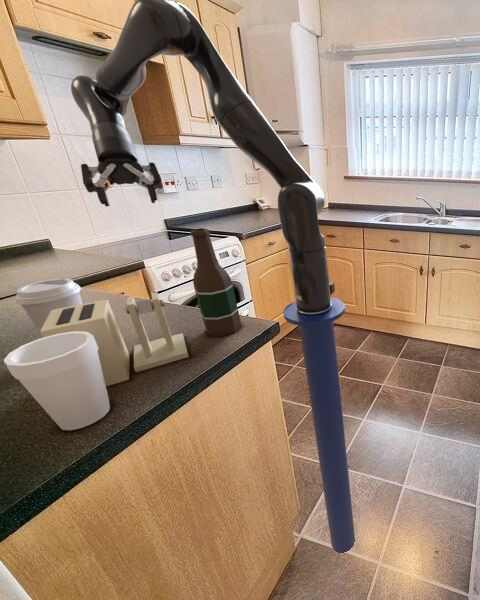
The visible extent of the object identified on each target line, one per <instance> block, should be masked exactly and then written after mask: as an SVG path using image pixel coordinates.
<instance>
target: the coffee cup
mask: <svg viewBox="0 0 480 600" xmlns="http://www.w3.org/2000/svg"><path fill="white" fill-rule="evenodd" d="M81 290H82V287H81V286H80V285H79V284H77V283H76V282H74V281H73V280H72V278H65V277H59V278H51V279H44V280H41V281H36V282H31V283H28V284H25V285H22V286H21V287H19V288H17V290H16V295H15V298H14V299H15V300H14V301H15V303H16V304H18V305H21V307H22V308H23V310H24V311H25V312H26V314H27V316H28V317H29V319H30V320H31V323H32V324H33V325H34V326H35V328H36V329H37V330H38V333H40V331H41V329H42V327H43V325H44V323H45V321H46V319H47V318H48V316H49V314H50V312H51V310H54V309H60V308H65V307H70V306H75V305H81V304H84V303H83V300H82V297H81V293H80V291H81ZM40 335H41V333H40Z"/></svg>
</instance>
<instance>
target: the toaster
mask: <svg viewBox="0 0 480 600" xmlns="http://www.w3.org/2000/svg"><path fill="white" fill-rule="evenodd" d="M73 331H81V332H89V333H90V334H92V335H93V337H94V339H95V341H96V343H97V346H98V355H99V360H100V364H101V368H102V372H103V377H104V381H105V385H106V387H109V386H113V385H116V384H119V383H122V382H126V381H130V365H131V364H130V359H131V355H130V352H129V350H128V348H127V347H128V346H126V345H127V344H126V343H125V340H124V337H123V335H122V333H121V330H120V327H119V325H118V322H117V319H116V317H115V315H114V311H113V310H112V307H111V304H110V302H109V299H102V300H97V301H91V302H86V303H83V304H81V305H75V306H70V307H65V308H60V309H54V310H51V312H50V314H49V316H48V318H47V319H46V321H45V323H44V325H43V327H42V329H41V331H40V332H39V333H41V334H40V335H41V338H44V337H48V336H52V335H55V334H60V333H66V332H73Z"/></svg>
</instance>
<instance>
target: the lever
mask: <svg viewBox="0 0 480 600" xmlns="http://www.w3.org/2000/svg"><path fill="white" fill-rule="evenodd" d="M135 303H136V306H137V309H138V312H139V314H140V315H142V314H147V313H151V312H155V307H154V304H153V301H152V299H145V300H140V301H136V302H135ZM163 303H164V306H163V307H162V308H164V307H166V305H165V301H164V300H163Z"/></svg>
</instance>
